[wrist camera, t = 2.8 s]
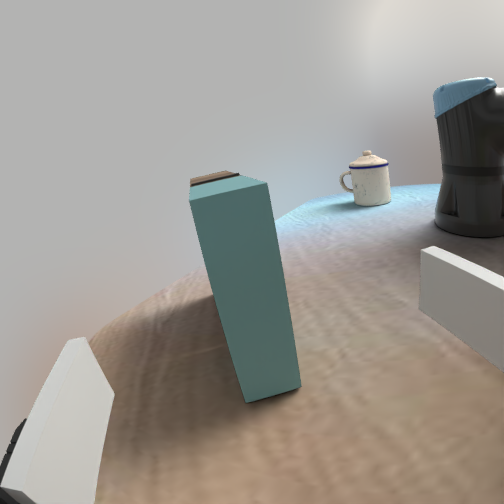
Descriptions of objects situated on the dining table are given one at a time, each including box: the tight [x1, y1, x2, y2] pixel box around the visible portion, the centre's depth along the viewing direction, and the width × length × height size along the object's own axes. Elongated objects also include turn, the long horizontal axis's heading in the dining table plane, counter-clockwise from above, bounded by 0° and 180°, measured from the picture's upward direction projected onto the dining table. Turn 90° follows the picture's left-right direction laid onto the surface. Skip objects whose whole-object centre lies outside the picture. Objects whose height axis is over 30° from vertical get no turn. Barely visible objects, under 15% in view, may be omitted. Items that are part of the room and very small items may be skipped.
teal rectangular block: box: [189, 175, 302, 403], centre depth 21 cm, size 8×4×14 cm, turn 11°
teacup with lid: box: [340, 151, 391, 206], centre depth 65 cm, size 12×9×12 cm
